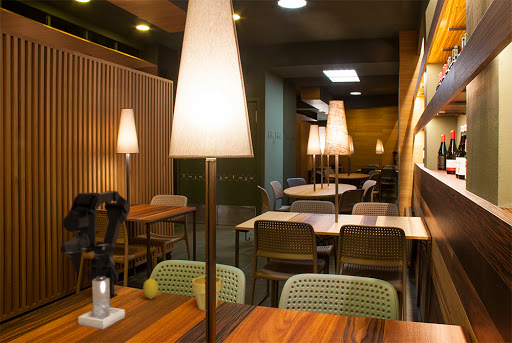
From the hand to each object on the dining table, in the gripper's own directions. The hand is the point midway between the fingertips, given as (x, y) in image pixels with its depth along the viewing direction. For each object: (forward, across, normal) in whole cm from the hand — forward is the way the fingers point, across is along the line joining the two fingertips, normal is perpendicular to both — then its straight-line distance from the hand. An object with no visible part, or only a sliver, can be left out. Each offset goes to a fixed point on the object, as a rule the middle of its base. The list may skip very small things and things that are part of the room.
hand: (87, 273), depth 142 cm
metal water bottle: (+13, +11, -6) cm, 18 cm away
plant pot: (+13, +39, +15) cm, 44 cm away
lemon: (+12, +15, +16) cm, 25 cm away
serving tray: (+14, +11, -6) cm, 18 cm away
